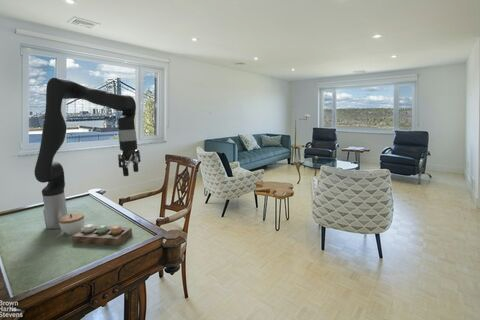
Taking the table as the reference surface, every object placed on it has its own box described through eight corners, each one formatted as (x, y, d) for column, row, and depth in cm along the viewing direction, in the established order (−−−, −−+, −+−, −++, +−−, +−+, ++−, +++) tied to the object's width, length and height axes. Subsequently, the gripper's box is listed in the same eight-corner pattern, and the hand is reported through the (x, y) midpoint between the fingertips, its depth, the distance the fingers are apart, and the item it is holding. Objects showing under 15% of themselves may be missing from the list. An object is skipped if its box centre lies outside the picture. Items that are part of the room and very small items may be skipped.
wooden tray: (73, 243, 121) (72, 235, 120) (90, 232, 132) (89, 225, 131) (118, 245, 117) (117, 238, 117) (132, 234, 128) (131, 227, 127)
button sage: (95, 233, 122) (94, 228, 122) (101, 229, 126) (100, 224, 126) (103, 234, 121) (103, 229, 121) (110, 229, 126) (109, 225, 125)
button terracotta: (109, 234, 121) (108, 229, 120) (115, 230, 125) (114, 225, 125) (118, 234, 120) (117, 229, 120) (123, 230, 124) (123, 225, 124)
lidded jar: (59, 238, 126) (56, 219, 124) (61, 230, 135) (58, 212, 133) (85, 233, 130) (83, 215, 129) (86, 225, 140) (83, 208, 138)
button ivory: (81, 232, 123) (80, 227, 123) (88, 228, 127) (87, 223, 127) (89, 233, 122) (89, 228, 122) (96, 229, 127) (95, 224, 126)
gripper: (129, 138, 132) (132, 170, 135) (110, 141, 119) (114, 177, 121) (143, 137, 131) (146, 170, 134) (126, 141, 117) (130, 177, 120)
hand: (131, 173), depth 128 cm, fingers open, 8 cm apart
